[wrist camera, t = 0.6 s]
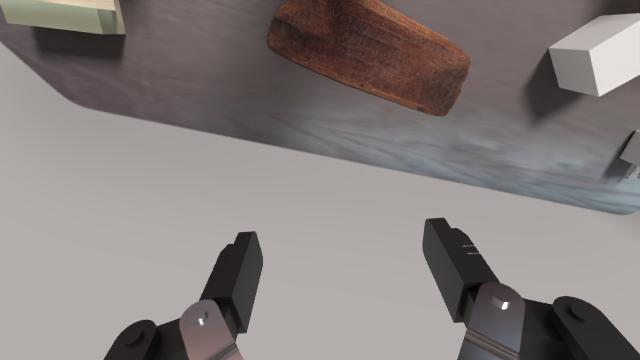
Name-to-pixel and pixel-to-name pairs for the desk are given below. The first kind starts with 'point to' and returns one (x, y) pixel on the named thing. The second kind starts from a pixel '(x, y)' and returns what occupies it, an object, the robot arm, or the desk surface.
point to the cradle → (67, 14)
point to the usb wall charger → (632, 154)
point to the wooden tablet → (372, 51)
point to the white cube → (599, 55)
